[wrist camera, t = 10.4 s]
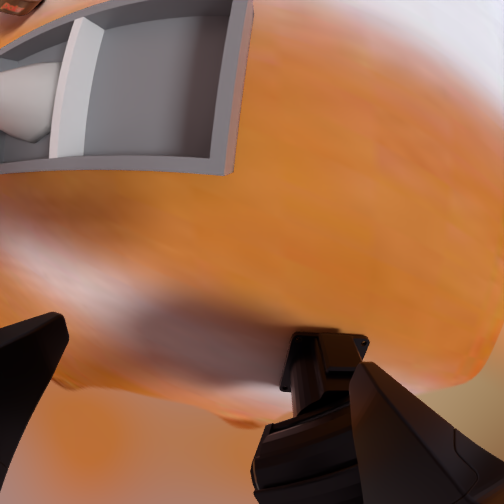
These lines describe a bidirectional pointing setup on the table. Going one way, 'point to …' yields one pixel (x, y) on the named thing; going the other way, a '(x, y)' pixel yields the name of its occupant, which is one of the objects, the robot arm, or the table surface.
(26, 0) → the tin
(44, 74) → the flask
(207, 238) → the table surface
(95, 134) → the caddy
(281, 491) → the robot arm
